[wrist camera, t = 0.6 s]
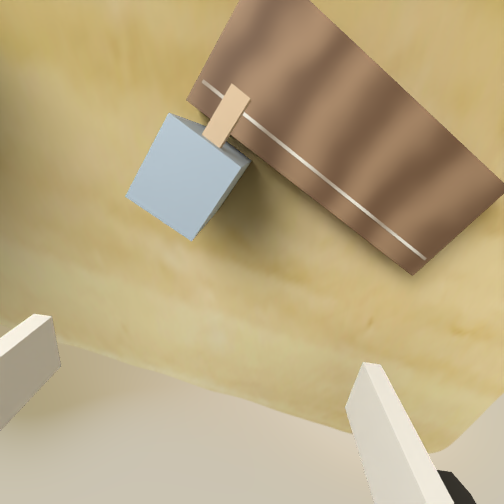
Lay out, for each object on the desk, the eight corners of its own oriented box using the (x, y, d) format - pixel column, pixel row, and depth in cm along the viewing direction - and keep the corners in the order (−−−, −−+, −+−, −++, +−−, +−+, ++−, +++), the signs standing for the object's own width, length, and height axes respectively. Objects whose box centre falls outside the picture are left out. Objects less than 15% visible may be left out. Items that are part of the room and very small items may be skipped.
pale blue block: (176, 179, 31) (125, 196, 20) (227, 92, 27) (199, 53, 16) (218, 209, 32) (191, 241, 21) (273, 129, 28) (275, 116, 17)
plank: (197, 106, 28) (185, 99, 24) (263, -14, 24) (262, -45, 20) (396, 261, 33) (413, 276, 29) (478, 183, 29) (510, 188, 25)
